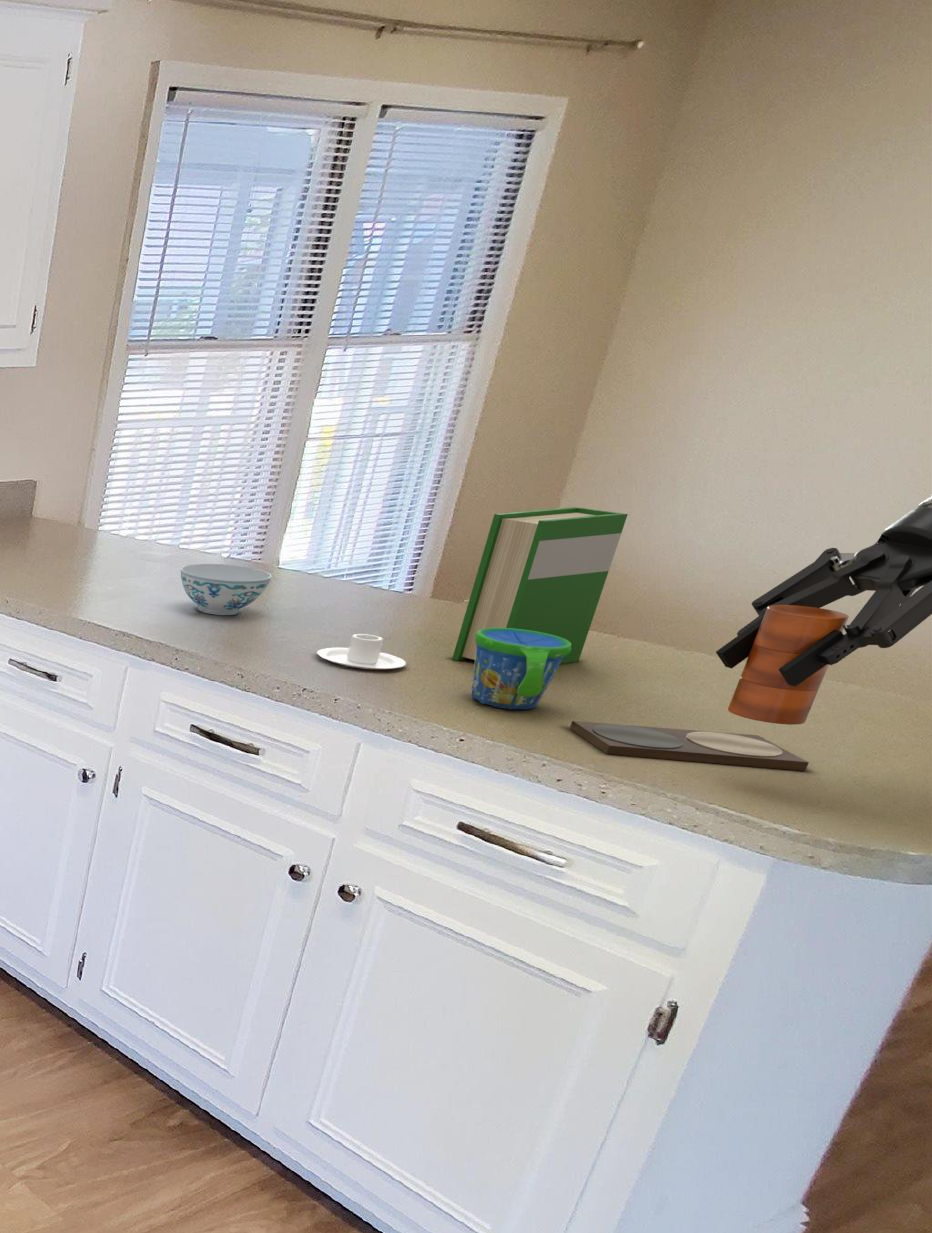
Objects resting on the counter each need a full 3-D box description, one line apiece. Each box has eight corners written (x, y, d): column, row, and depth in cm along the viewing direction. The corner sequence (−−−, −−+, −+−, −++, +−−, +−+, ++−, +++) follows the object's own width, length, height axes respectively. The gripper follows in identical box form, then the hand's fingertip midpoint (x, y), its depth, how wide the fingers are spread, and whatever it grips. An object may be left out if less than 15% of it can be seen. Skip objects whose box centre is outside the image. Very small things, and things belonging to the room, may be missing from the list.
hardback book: (499, 671, 178) (545, 521, 169) (452, 659, 185) (494, 513, 176) (578, 661, 182) (627, 514, 174) (529, 649, 189) (574, 506, 180)
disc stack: (819, 727, 129) (864, 619, 125) (748, 721, 131) (790, 616, 127) (782, 709, 135) (824, 606, 130) (715, 704, 137) (754, 603, 132)
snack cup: (561, 725, 155) (585, 655, 152) (466, 713, 160) (487, 645, 157) (537, 693, 168) (558, 628, 164) (450, 683, 173) (468, 620, 169)
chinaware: (246, 603, 221) (255, 564, 218) (275, 622, 208) (284, 581, 205) (164, 600, 224) (171, 562, 222) (186, 619, 211) (194, 579, 208)
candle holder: (316, 665, 183) (322, 640, 181) (316, 648, 192) (322, 623, 190) (406, 677, 176) (414, 650, 175) (402, 658, 186) (409, 633, 184)
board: (805, 771, 139) (809, 761, 139) (606, 754, 145) (609, 744, 145) (754, 743, 148) (758, 734, 147) (569, 728, 154) (572, 719, 154)
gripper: (1077, 568, 117) (860, 717, 123) (868, 535, 135) (687, 666, 141) (1051, 518, 115) (832, 672, 121) (842, 491, 133) (660, 626, 139)
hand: (754, 668), depth 131 cm, fingers closed on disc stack, 6 cm apart
